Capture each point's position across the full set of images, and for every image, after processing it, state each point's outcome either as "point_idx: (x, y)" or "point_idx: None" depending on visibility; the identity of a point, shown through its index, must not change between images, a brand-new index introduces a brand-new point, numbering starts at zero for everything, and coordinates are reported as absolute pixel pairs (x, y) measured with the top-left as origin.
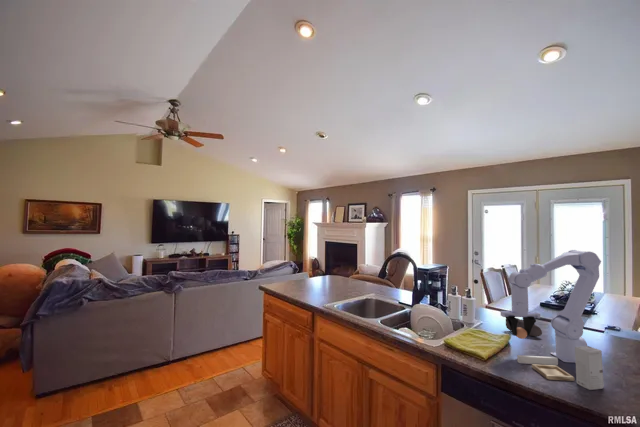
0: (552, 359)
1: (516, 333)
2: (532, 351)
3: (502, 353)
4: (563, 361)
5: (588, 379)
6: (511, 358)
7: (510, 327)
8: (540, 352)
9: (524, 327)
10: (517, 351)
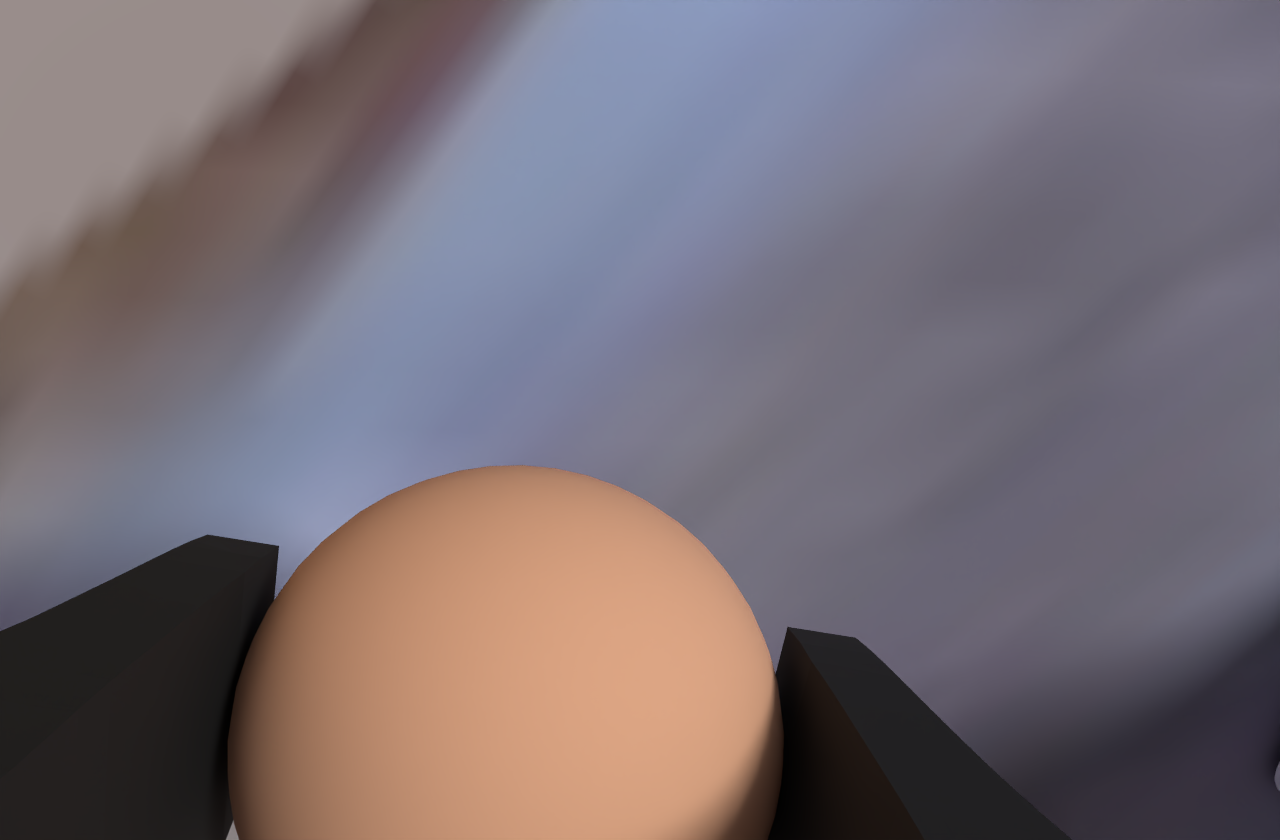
0: None
1: (211, 829)
2: (1103, 173)
3: (108, 252)
4: (1275, 773)
5: None
6: (172, 539)
7: (7, 639)
8: (1270, 251)
9: (872, 785)
10: (651, 147)
